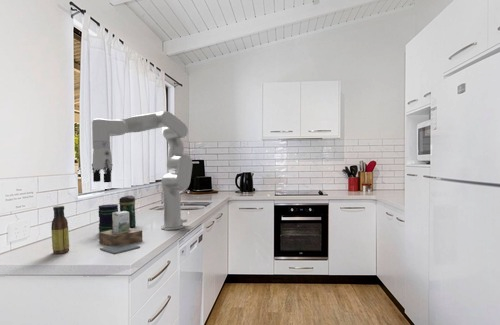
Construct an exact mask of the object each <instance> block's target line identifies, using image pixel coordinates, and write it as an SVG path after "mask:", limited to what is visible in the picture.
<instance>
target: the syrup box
mask: <svg viewBox="0 0 500 325" xmlns="http://www.w3.org/2000/svg"><path fill="white" fill-rule="evenodd" d="M112 228H113V229H112V230H113V233H116V234H120V233H125V232H129V212H127V211H120V210H119V211H118V212H113V213H112Z"/></svg>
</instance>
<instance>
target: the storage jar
mask: <svg viewBox="0 0 500 325" xmlns="http://www.w3.org/2000/svg"><path fill="white" fill-rule="evenodd" d="M113 212H119V205H118V204H113V203H111V204H102V205H98V217H99V222H98V223H99V224H98V231H99V232H104V231H109V230H112V229H113V228H112V213H113ZM99 232H98V233H99Z"/></svg>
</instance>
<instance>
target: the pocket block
mask: <svg viewBox="0 0 500 325" xmlns="http://www.w3.org/2000/svg"><path fill="white" fill-rule="evenodd" d="M98 234H99V236H98V237H99V244H103V245H105V246H112V245H114V246H117V245H122V244H126V243H129V244H135V243H139V242H143V230H141V229H136V228H133V227H131V228H129V232H125V233H120V234H116V233H113V230H109V231H104V232H98Z"/></svg>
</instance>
